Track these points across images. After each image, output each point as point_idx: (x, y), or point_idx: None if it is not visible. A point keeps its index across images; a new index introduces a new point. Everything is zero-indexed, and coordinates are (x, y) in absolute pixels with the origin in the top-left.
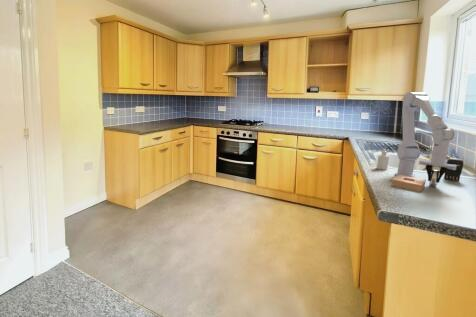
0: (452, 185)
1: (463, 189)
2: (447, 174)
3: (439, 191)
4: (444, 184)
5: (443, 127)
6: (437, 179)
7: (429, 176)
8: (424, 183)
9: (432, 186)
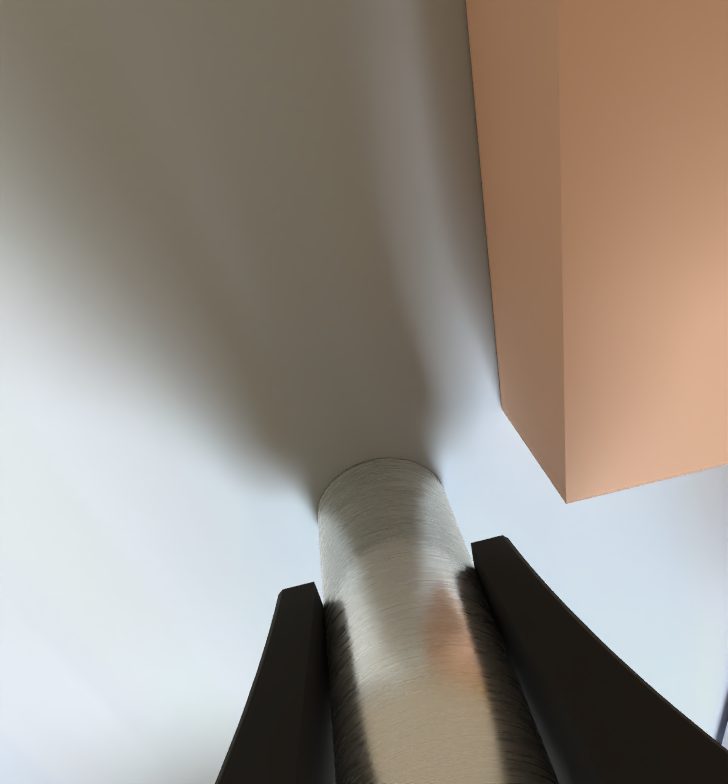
0: None
1: (25, 755)
2: None
3: (108, 262)
4: None
5: None
6: (330, 670)
7: (547, 638)
8: (528, 325)
9: (367, 469)
